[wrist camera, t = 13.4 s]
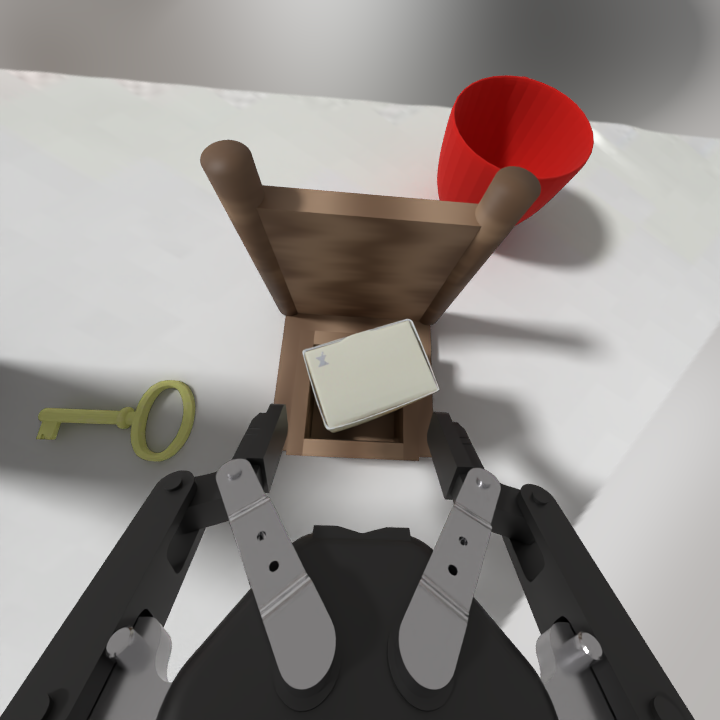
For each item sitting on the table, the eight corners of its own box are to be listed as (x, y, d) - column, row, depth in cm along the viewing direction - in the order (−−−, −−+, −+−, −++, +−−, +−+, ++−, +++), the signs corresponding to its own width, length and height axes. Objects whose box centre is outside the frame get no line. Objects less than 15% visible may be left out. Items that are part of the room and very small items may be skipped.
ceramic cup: (530, 169, 35) (599, 71, 26) (514, 270, 31) (591, 197, 21) (438, 143, 36) (473, 37, 26) (409, 240, 31) (438, 154, 22)
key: (57, 411, 24) (31, 409, 22) (193, 376, 26) (181, 371, 24) (57, 492, 23) (28, 498, 21) (203, 449, 24) (190, 451, 22)
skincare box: (332, 434, 24) (319, 436, 12) (318, 389, 25) (294, 350, 13) (397, 411, 25) (445, 391, 13) (381, 369, 26) (411, 314, 14)
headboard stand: (260, 448, 24) (108, 477, 9) (282, 299, 28) (206, 138, 13) (439, 456, 25) (598, 497, 9) (434, 309, 29) (537, 168, 13)
